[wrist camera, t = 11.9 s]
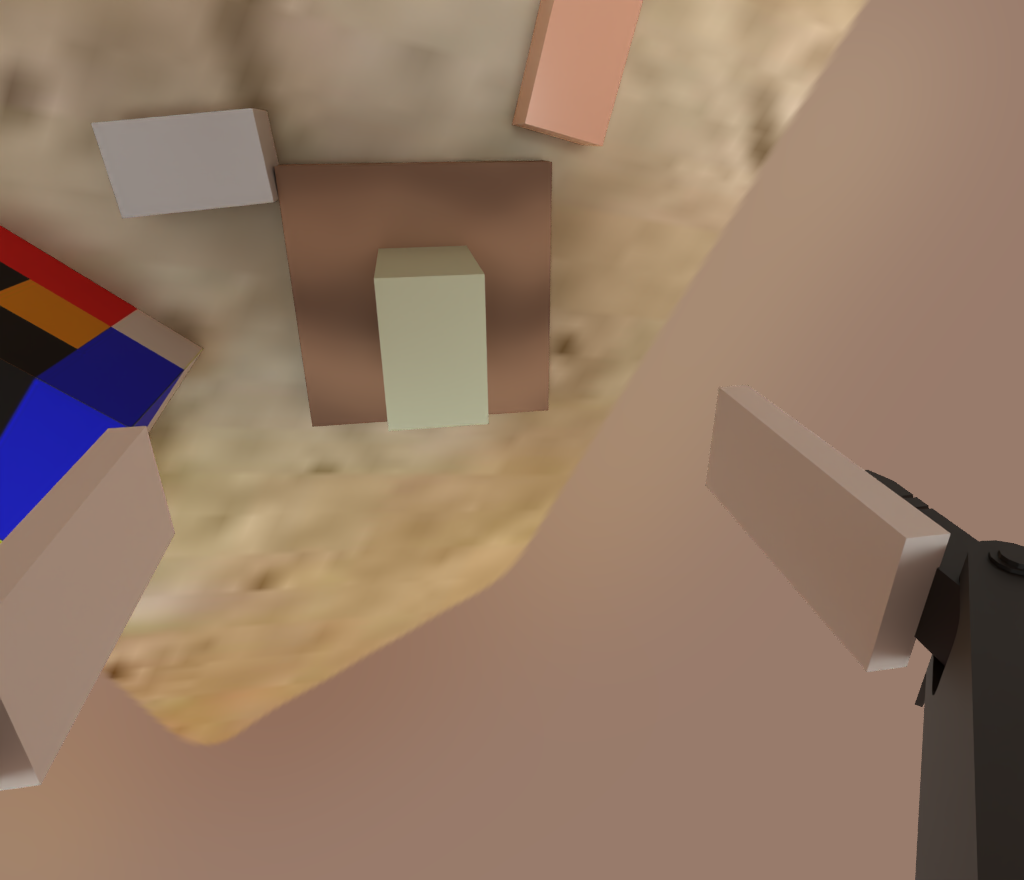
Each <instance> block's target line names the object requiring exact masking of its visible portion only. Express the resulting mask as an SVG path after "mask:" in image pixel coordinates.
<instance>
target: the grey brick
mask: <svg viewBox="0 0 1024 880" xmlns="http://www.w3.org/2000/svg"><path fill="white" fill-rule="evenodd" d="M91 125H92V128H93V131H94V134H95V137H96V140H97V143H98V146H99V149H100V152H101V155H102V158H103V161H104V164H105V167H106V170H107V173H108V177H109V180H110V183H111V186H112V189H113V192H114V195H115V198H116V201H117V204H118V207H119V210H120V213H121V216H122V218H132V217H141V216H150V215H160V214H169V213H178V212H187V211H197V210H206V209H215V208H225V207H234V206H243V205H252V204H262V203H271V202H275V201H277V200H279V196H278V189H277V183H276V176H275V169H274V166H278V165H279V163H278V158H277V154H276V149H275V145H274V140H273V136H272V131H271V127H270V122H269V118H268V113H267V111H265V110H260V109H255V108H247V109H236V110H225V111H214V112H203V113H193V114H182V115H171V116H160V117H149V118H139V119H128V120H117V121H106V122H96V123H91Z"/></svg>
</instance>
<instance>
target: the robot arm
mask: <svg viewBox="0 0 1024 880" xmlns="http://www.w3.org/2000/svg"><path fill="white" fill-rule="evenodd" d="M706 487H707V488H708V489H709V490H710V491H711V493H712V494H713V495H714V496H715V497H716V498H717V500H718V501H719V502H720V503H721V504H722V505H723V506H724V508H725V509H726V510H727V511H728V512H729V513H730V514H731V516H732V517H733V518H734V519H735V520H736V521H737V523H738V524H739V525H740V526H741V527H742V528H743V530H744V531H745V532H746V533H747V534H748V535H749V536H750V538H751V539H752V540H753V541H754V542H755V543H756V545H757V546H758V547H759V548H760V549H761V550H762V552H763V553H764V554H765V555H766V556H767V557H768V558H769V560H770V561H771V562H772V563H773V564H774V565H775V566H776V567H777V569H778V570H779V571H780V572H781V573H782V575H783V576H784V577H785V578H786V579H787V580H788V582H789V583H790V584H791V585H792V586H793V587H794V588H795V590H796V591H797V592H798V593H799V594H800V595H801V597H802V598H803V599H804V600H805V601H806V602H807V604H808V605H809V606H810V607H811V608H812V609H813V610H814V612H815V613H816V614H817V615H818V616H819V617H820V619H821V620H822V621H823V622H824V623H825V624H826V625H827V627H828V628H829V629H830V630H831V631H832V632H833V634H834V635H835V636H836V637H837V638H838V639H839V640H840V641H841V643H842V644H843V645H844V646H845V647H846V649H847V650H848V651H849V652H850V653H851V654H852V656H853V657H854V658H855V659H856V660H857V661H858V663H859V664H860V665H861V666H862V667H863V668H864V669H865V671H866V672H871V671H877V670H885V669H893V668H899V667H906V666H907V664H908V661H909V658H910V655H911V652H912V649H913V646H914V643H915V640H916V638H917V639H918V640H919V641H920V642H921V643H922V644H923V645H924V646H925V647H926V648H927V649H928V650H929V651H930V652H931V653H932V657H931V659H930V662H929V666H928V668H927V671H926V674H925V677H924V680H923V682H922V685H921V688H920V691H919V694H918V697H917V700H916V703H915V705H918V706H921V707H922V706H923V705H924V703H925V706H924V707H925V708H924V726H923V745H922V763H921V782H920V801H919V820H918V821H919V822H918V841H917V858H916V859H917V860H916V877H915V880H1024V547H1023V546H1020V545H1017V544H1014V543H1008V542H1002V541H980V542H979V541H977V540H976V539H974V538H973V537H971V536H970V535H969V534H967V533H966V532H965V531H963V530H962V529H960V528H959V527H958V526H956V525H955V524H953V523H952V522H950V521H949V520H948V519H946V518H945V517H943V516H942V515H940V514H939V513H938V512H936V511H935V510H933V509H929V508H928V505H927V504H925V503H924V502H922V501H921V500H920V499H918V498H917V497H915V498H913V494H911V493H910V492H908V491H907V490H905V489H904V488H903V487H901V486H900V485H899V484H897V483H896V482H894V481H892V480H890V479H888V478H885V477H883V476H881V475H878V474H876V473H874V472H872V471H869V470H863V469H862V468H861V467H859V466H858V465H857V464H855V463H854V462H852V461H851V460H850V459H848V458H847V457H846V456H844V455H843V454H842V453H840V452H839V451H837V450H836V449H835V448H833V447H832V446H831V445H829V444H828V443H826V442H825V441H824V440H822V439H821V438H820V437H818V436H817V435H816V434H814V433H813V432H811V431H810V430H809V429H807V428H806V427H805V426H803V425H802V424H801V423H799V422H798V421H796V420H795V419H794V418H792V417H791V416H790V415H788V414H787V413H786V412H784V411H783V410H782V409H780V408H779V407H777V406H776V405H775V404H773V403H772V402H771V401H769V400H768V399H767V398H765V397H764V396H762V395H761V394H760V393H758V392H757V391H755V390H754V389H753V388H752V387H750V386H749V385H741V386H727V387H719V389H718V397H717V404H716V412H715V419H714V426H713V434H712V441H711V448H710V456H709V464H708V470H707V478H706ZM174 534H175V531H174V528H173V524H172V520H171V516H170V513H169V509H168V505H167V501H166V498H165V494H164V490H163V487H162V483H161V479H160V475H159V472H158V468H157V464H156V460H155V457H154V453H153V449H152V446H151V442H150V438H149V434H148V431H147V427H146V426H136V427H122V428H108V429H107V430H106V431H105V432H104V433H103V434H102V436H101V437H100V438H99V439H98V440H97V441H96V442H95V443H94V444H93V445H92V446H91V447H90V448H89V449H88V450H87V452H86V453H85V454H84V455H83V456H82V457H81V458H80V459H79V460H78V461H77V462H76V463H75V464H74V465H73V466H72V468H71V469H70V470H69V471H68V472H67V473H66V474H65V475H64V476H63V477H62V478H61V479H60V480H59V481H58V482H57V484H56V485H55V486H54V487H53V488H52V489H51V490H50V491H49V492H48V493H47V494H46V495H45V496H44V497H43V498H42V500H41V501H40V502H39V503H38V504H37V505H36V506H35V507H34V508H33V509H32V510H31V511H30V512H29V513H28V514H27V516H26V517H25V518H24V519H23V520H22V521H21V522H20V523H19V524H18V525H17V526H16V527H15V528H14V529H13V531H12V532H11V533H10V534H9V535H8V536H7V537H6V538H5V539H4V540H3V541H2V542H1V543H0V790H8V789H15V788H22V787H29V786H37V785H41V784H42V782H43V780H44V778H45V776H46V774H47V772H48V770H49V769H50V767H51V765H52V763H53V761H54V759H55V757H56V755H57V754H58V752H59V750H60V748H61V746H62V744H63V742H64V740H65V739H66V737H67V735H68V733H69V731H70V729H71V727H72V725H73V723H74V722H75V720H76V718H77V716H78V714H79V712H80V710H81V709H82V707H83V705H84V703H85V701H86V699H87V697H88V695H89V694H90V692H91V690H92V688H93V686H94V684H95V682H96V680H97V679H98V677H99V675H100V673H101V671H102V669H103V667H104V665H105V664H106V662H107V660H108V658H109V656H110V654H111V652H112V650H113V649H114V647H115V645H116V643H117V641H118V639H119V637H120V635H121V634H122V632H123V630H124V628H125V626H126V624H127V622H128V620H129V619H130V617H131V615H132V613H133V611H134V609H135V607H136V605H137V604H138V602H139V600H140V598H141V596H142V594H143V592H144V590H145V589H146V587H147V585H148V583H149V581H150V579H151V577H152V575H153V574H154V572H155V570H156V568H157V566H158V564H159V562H160V560H161V559H162V557H163V555H164V553H165V551H166V549H167V547H168V545H169V544H170V542H171V540H172V538H173V536H174Z"/></svg>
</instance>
